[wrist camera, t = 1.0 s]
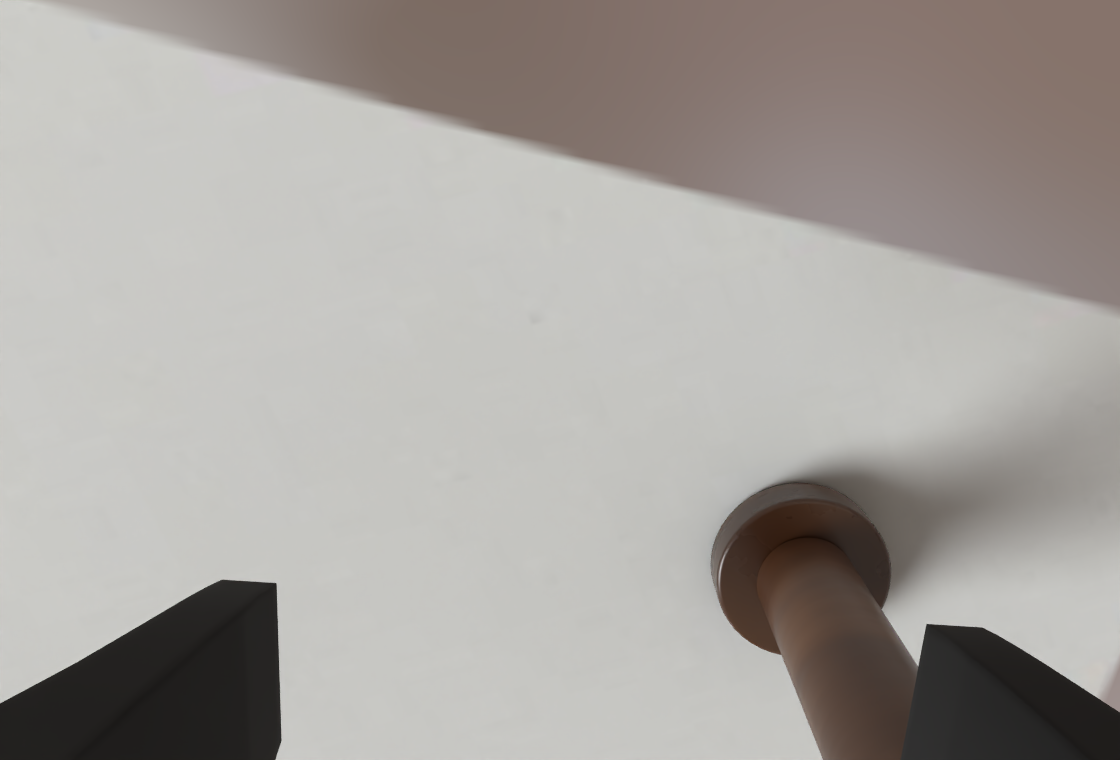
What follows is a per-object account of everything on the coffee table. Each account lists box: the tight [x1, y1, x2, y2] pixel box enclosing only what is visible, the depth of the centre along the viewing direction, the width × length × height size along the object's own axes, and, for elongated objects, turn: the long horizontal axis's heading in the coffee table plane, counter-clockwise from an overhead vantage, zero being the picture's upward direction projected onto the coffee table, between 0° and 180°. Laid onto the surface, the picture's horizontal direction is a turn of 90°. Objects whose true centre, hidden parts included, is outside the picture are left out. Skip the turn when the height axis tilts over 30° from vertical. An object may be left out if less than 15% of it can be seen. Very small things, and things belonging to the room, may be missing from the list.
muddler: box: [711, 483, 918, 760], centre depth 16 cm, size 4×4×9 cm
